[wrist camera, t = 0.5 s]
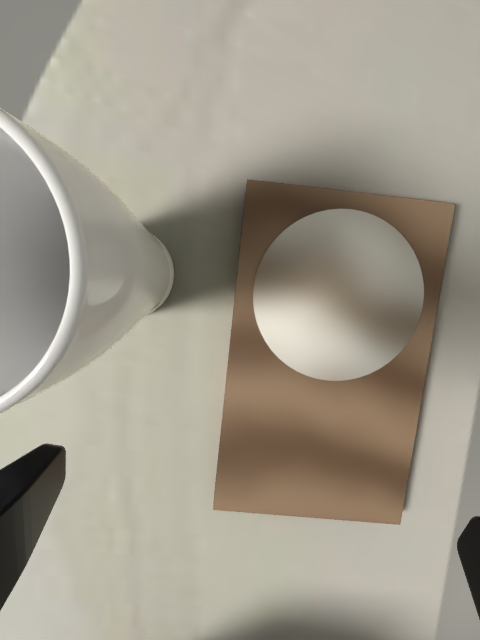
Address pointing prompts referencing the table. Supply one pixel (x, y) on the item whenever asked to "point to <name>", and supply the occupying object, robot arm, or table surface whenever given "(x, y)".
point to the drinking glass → (65, 265)
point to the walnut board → (328, 351)
